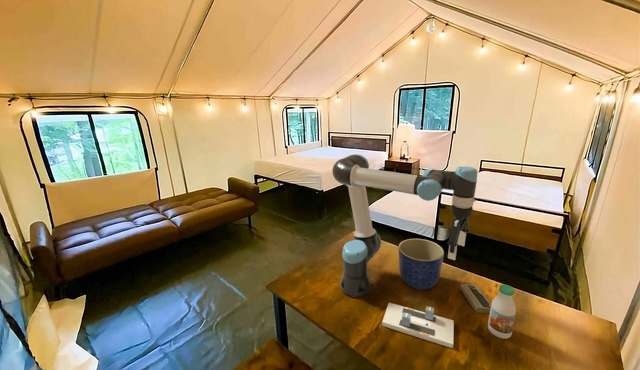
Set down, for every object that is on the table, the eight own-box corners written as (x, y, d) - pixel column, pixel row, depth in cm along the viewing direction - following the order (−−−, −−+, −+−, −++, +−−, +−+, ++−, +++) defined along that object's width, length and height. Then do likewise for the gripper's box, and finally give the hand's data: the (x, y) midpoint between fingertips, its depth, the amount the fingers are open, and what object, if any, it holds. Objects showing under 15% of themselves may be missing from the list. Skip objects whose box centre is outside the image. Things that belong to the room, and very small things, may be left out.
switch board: (382, 325, 107) (382, 321, 106) (388, 306, 117) (388, 301, 117) (452, 348, 96) (453, 343, 95) (453, 324, 106) (453, 320, 105)
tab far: (425, 318, 106) (425, 309, 105) (425, 313, 109) (426, 305, 107) (432, 320, 105) (433, 311, 104) (433, 316, 107) (434, 307, 106)
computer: (495, 313, 111) (496, 307, 110) (475, 313, 111) (476, 307, 110) (476, 288, 126) (477, 283, 125) (458, 289, 126) (459, 283, 125)
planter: (439, 272, 138) (441, 240, 132) (442, 299, 119) (446, 263, 114) (398, 267, 145) (399, 236, 139) (396, 291, 126) (397, 257, 121)
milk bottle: (483, 324, 105) (489, 282, 99) (501, 322, 106) (508, 280, 100) (497, 340, 98) (505, 296, 92) (516, 338, 98) (525, 293, 92)
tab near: (401, 324, 104) (402, 315, 103) (402, 319, 106) (403, 311, 105) (409, 326, 103) (410, 318, 102) (410, 322, 105) (411, 313, 104)
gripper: (464, 217, 94) (457, 268, 100) (480, 198, 111) (473, 242, 117) (442, 213, 98) (437, 261, 105) (460, 195, 116) (455, 237, 122)
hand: (456, 251), depth 111 cm, fingers open, 13 cm apart
